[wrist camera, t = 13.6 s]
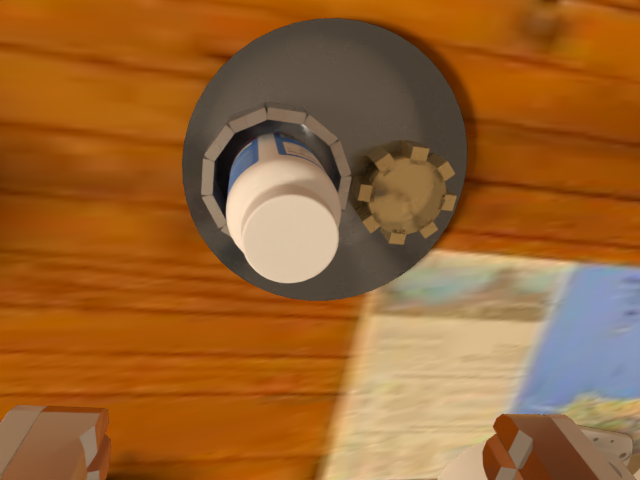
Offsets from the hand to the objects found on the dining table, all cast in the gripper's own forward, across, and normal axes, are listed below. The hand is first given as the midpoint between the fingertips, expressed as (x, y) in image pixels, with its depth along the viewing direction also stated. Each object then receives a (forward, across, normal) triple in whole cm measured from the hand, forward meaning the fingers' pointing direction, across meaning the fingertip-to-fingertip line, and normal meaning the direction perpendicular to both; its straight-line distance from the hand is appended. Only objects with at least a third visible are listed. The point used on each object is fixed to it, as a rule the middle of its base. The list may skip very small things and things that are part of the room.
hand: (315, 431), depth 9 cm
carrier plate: (+20, -3, 0) cm, 20 cm away
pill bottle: (+19, 0, 0) cm, 19 cm away
